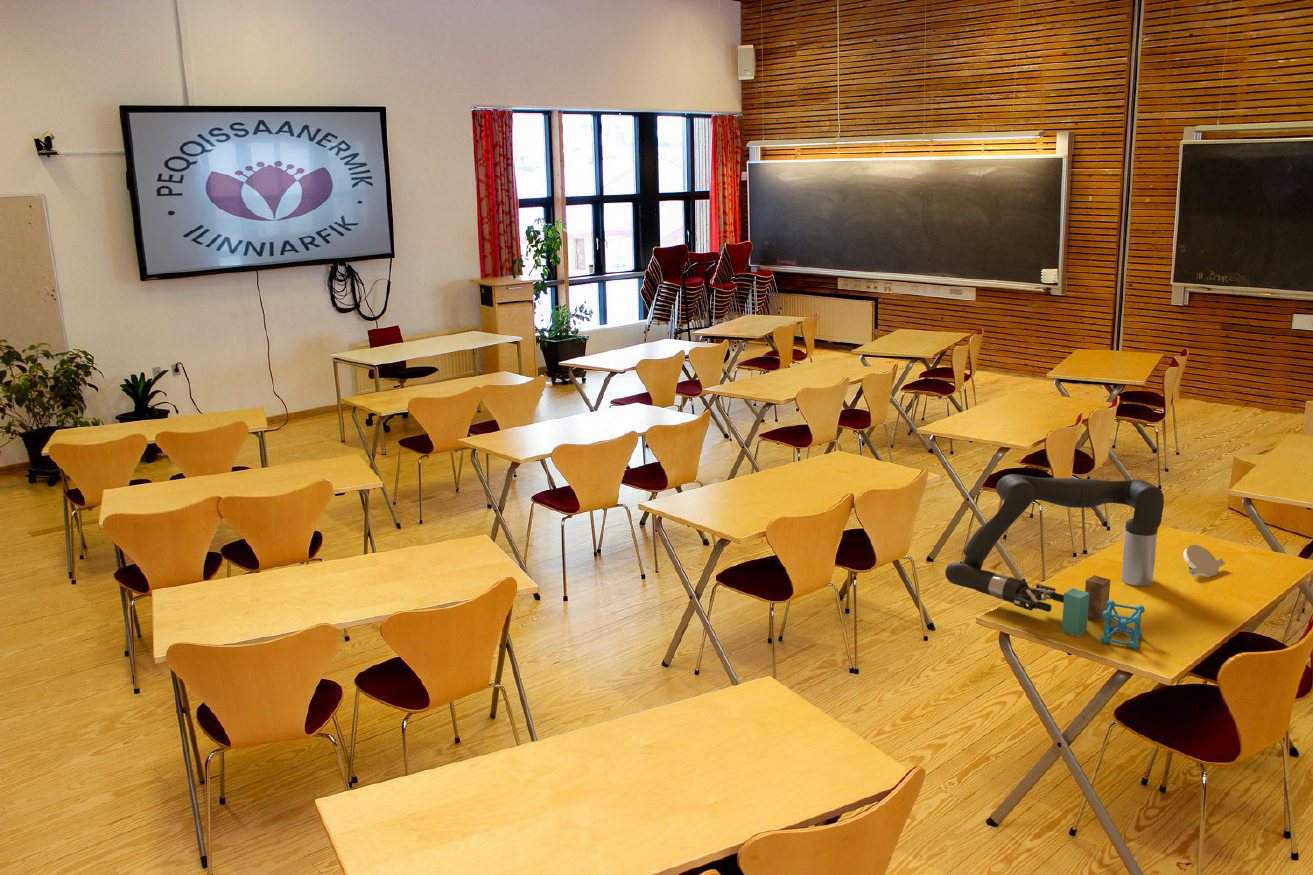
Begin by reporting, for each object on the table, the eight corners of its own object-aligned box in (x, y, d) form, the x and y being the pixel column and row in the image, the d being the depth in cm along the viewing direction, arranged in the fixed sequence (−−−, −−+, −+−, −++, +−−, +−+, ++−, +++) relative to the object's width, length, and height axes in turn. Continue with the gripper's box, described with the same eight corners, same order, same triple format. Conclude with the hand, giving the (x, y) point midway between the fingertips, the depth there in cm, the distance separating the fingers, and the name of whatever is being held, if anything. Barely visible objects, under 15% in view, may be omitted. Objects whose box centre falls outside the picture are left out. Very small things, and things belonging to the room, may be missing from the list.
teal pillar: (1061, 631, 293) (1064, 593, 290) (1070, 625, 296) (1072, 588, 293) (1078, 636, 289) (1080, 598, 286) (1086, 630, 292) (1089, 592, 289)
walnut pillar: (1083, 617, 301) (1085, 580, 298) (1091, 611, 304) (1093, 575, 301) (1099, 622, 297) (1102, 584, 294) (1107, 616, 300) (1110, 579, 297)
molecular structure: (1138, 651, 279) (1141, 618, 276) (1099, 643, 284) (1101, 611, 282) (1142, 636, 287) (1145, 604, 285) (1105, 629, 292) (1107, 598, 290)
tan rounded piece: (1201, 580, 320) (1186, 546, 323) (1180, 585, 327) (1166, 552, 330) (1230, 570, 327) (1216, 537, 329) (1209, 575, 334) (1195, 543, 336)
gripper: (995, 584, 301) (1046, 599, 289) (1020, 570, 310) (1071, 584, 298) (994, 607, 303) (1045, 623, 291) (1019, 593, 312) (1069, 608, 300)
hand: (1058, 603), depth 295 cm, fingers open, 8 cm apart
